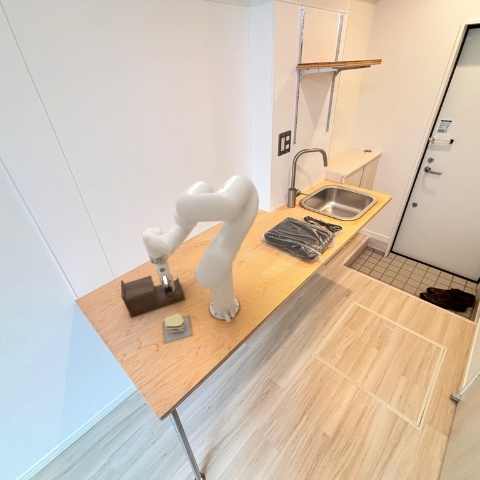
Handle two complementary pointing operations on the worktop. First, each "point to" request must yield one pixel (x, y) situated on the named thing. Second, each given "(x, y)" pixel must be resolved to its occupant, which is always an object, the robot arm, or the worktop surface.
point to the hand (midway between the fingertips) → (167, 285)
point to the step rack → (148, 295)
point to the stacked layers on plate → (176, 327)
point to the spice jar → (170, 284)
